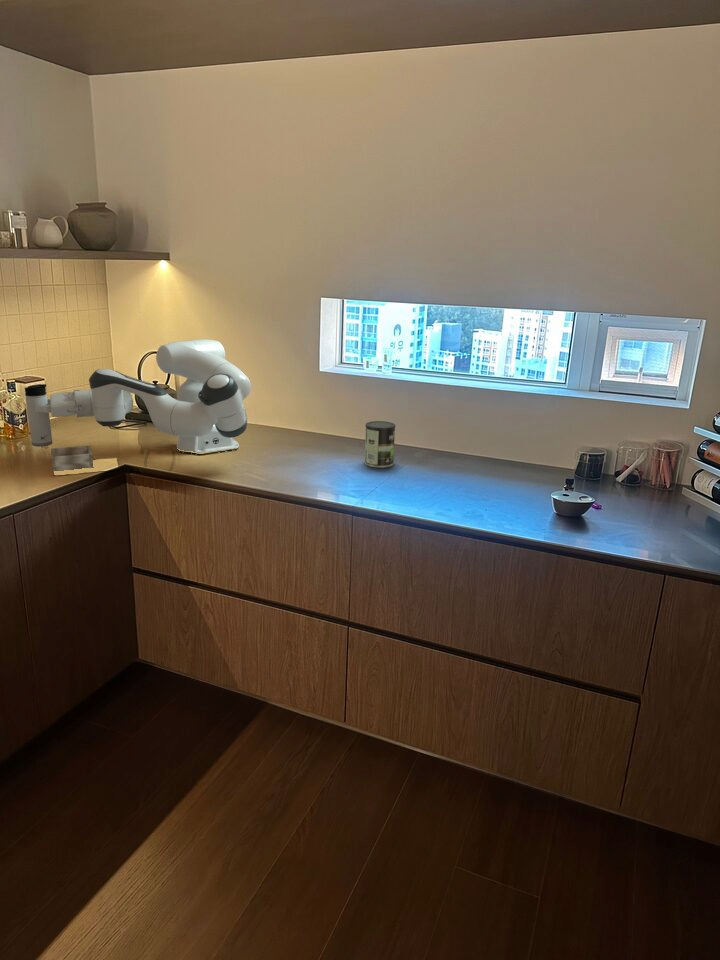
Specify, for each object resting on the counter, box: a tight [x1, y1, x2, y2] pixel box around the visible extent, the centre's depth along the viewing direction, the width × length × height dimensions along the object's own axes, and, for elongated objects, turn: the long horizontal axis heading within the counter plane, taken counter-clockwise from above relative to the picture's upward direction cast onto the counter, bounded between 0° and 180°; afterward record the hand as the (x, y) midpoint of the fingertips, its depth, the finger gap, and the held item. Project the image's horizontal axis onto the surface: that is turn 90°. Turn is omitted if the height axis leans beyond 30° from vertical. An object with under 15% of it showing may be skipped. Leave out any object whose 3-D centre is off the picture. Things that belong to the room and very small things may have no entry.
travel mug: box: [24, 383, 53, 448], centre depth 219 cm, size 6×7×20 cm
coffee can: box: [364, 420, 396, 469], centre depth 233 cm, size 10×10×14 cm
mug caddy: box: [50, 445, 94, 473], centre depth 220 cm, size 20×12×6 cm, turn 114°
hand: (35, 406), depth 218 cm, fingers closed on travel mug, 6 cm apart
